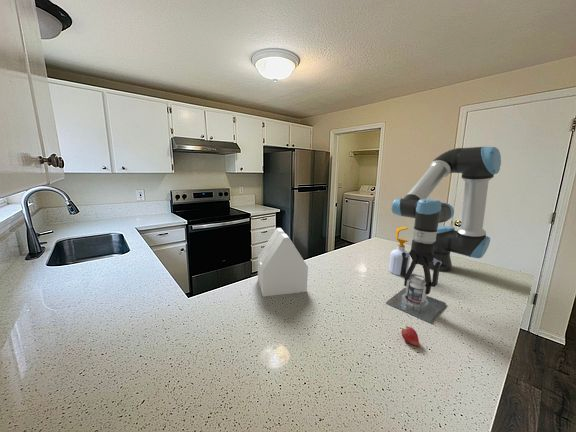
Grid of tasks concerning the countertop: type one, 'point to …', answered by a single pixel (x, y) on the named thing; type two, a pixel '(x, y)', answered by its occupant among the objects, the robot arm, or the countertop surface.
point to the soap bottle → (398, 255)
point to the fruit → (410, 336)
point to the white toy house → (281, 267)
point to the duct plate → (419, 314)
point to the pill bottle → (416, 289)
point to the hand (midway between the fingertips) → (415, 297)
